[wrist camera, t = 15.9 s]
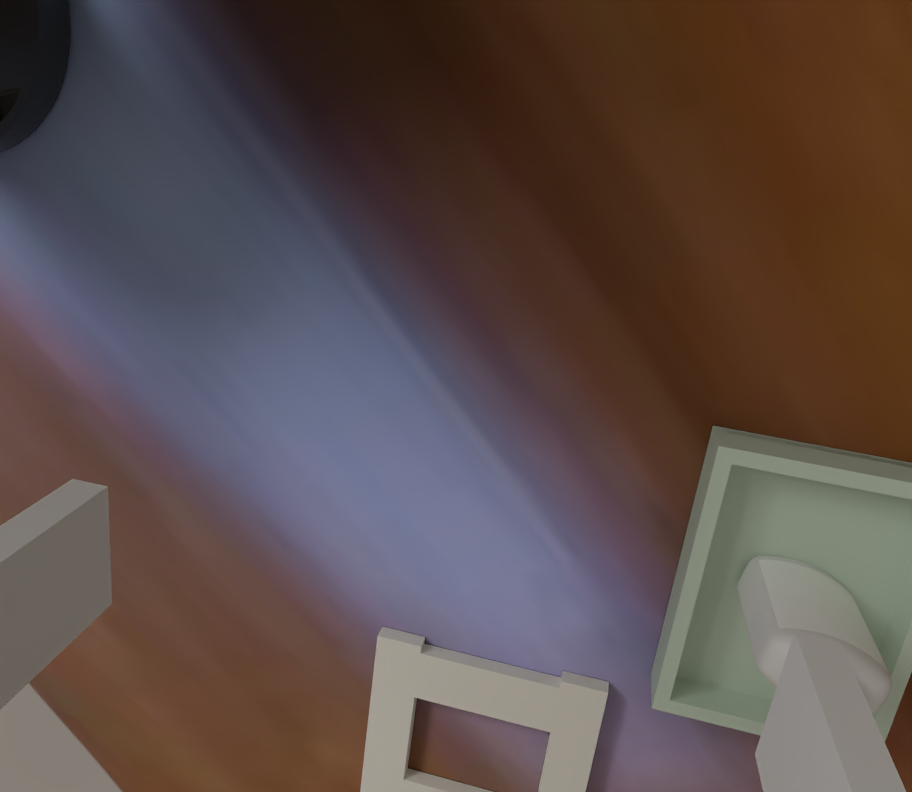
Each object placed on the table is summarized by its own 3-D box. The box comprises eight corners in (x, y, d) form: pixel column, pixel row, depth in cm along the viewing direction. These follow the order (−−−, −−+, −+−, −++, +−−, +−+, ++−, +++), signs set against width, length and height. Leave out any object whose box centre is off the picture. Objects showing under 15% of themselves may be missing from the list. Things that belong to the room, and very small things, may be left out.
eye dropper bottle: (795, 526, 40) (856, 671, 29) (863, 605, 41) (949, 778, 30) (724, 571, 42) (756, 724, 31) (790, 646, 42) (845, 825, 31)
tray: (650, 674, 46) (651, 708, 43) (712, 425, 41) (718, 445, 38) (861, 725, 44) (876, 764, 41) (953, 470, 39) (978, 495, 36)
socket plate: (362, 800, 53) (357, 812, 52) (382, 626, 49) (377, 635, 48) (568, 859, 51) (566, 872, 50) (608, 681, 46) (608, 692, 45)
